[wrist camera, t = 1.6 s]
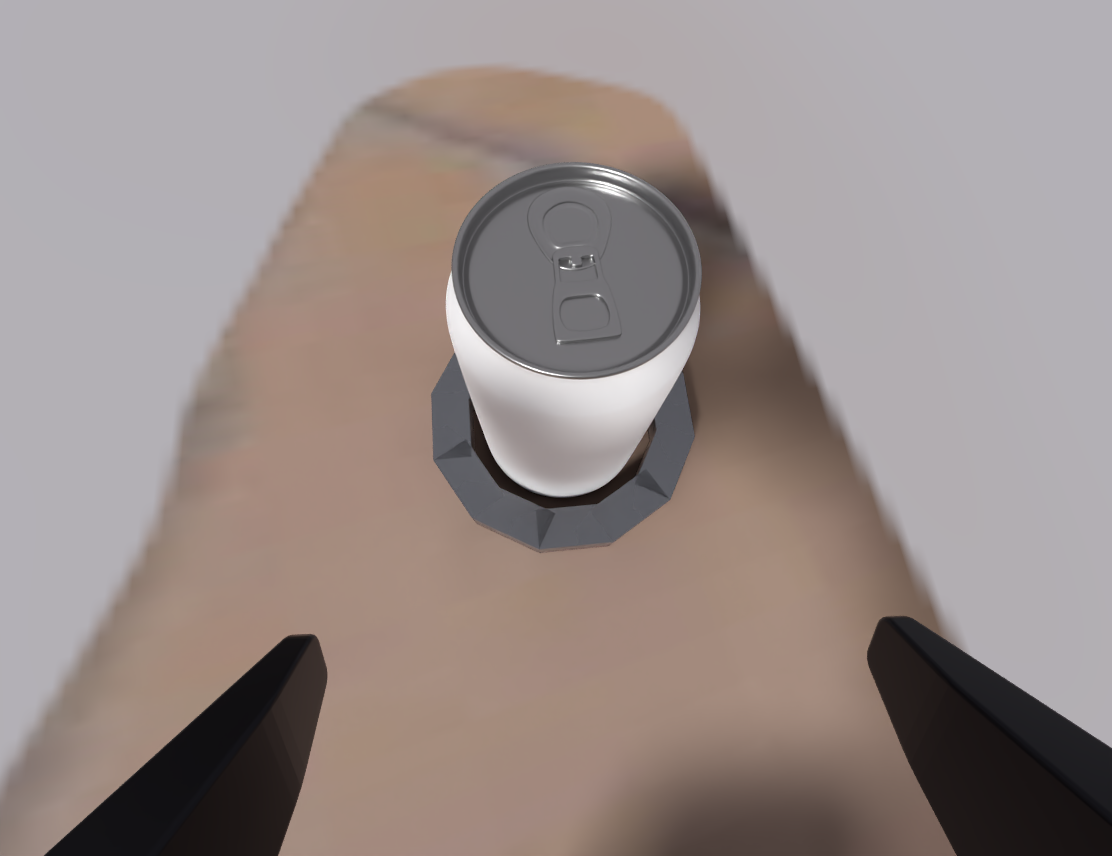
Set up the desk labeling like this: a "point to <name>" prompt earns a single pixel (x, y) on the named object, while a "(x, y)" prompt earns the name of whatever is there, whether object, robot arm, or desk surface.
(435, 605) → the desk surface
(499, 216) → the can
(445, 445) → the collar
